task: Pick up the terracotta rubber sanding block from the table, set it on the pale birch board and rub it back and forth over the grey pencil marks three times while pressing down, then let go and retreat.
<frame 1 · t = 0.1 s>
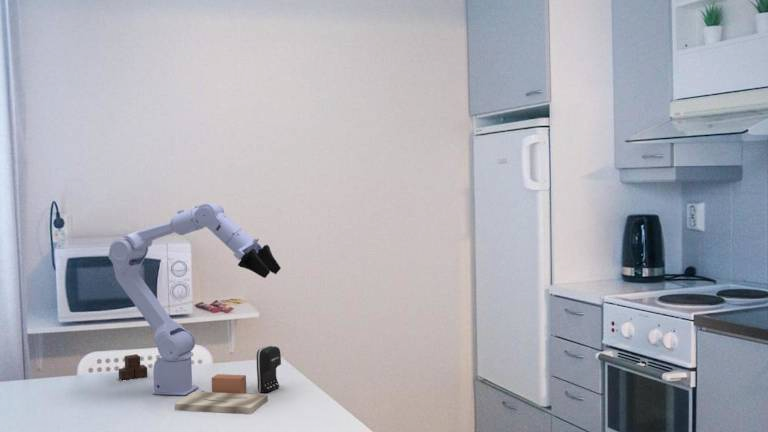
hand: (272, 273, 203), 32 cm above the table, tool tilted 50°, fingers open, 7 cm apart
sanding block: (229, 395, 206), on the table
battery charger: (270, 390, 210), on the table
stack of crates: (131, 379, 227), on the table
board: (221, 405, 197), on the table
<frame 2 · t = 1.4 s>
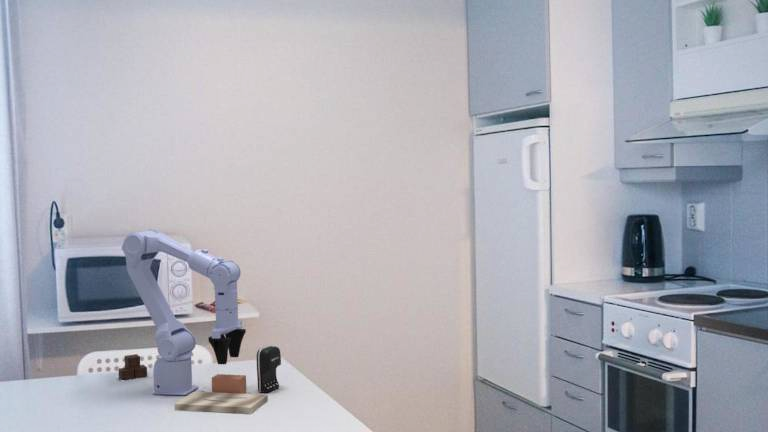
hand: (228, 360, 206), 9 cm above the table, tool pointing down, fingers open, 7 cm apart
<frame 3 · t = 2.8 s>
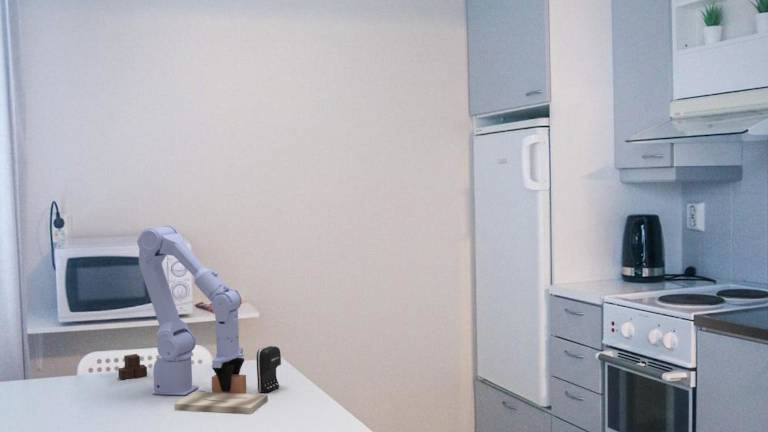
hand: (229, 388, 206), 2 cm above the table, tool pointing down, fingers closed on sanding block, 4 cm apart
sanding block: (229, 394, 206), on the table, touching gripper
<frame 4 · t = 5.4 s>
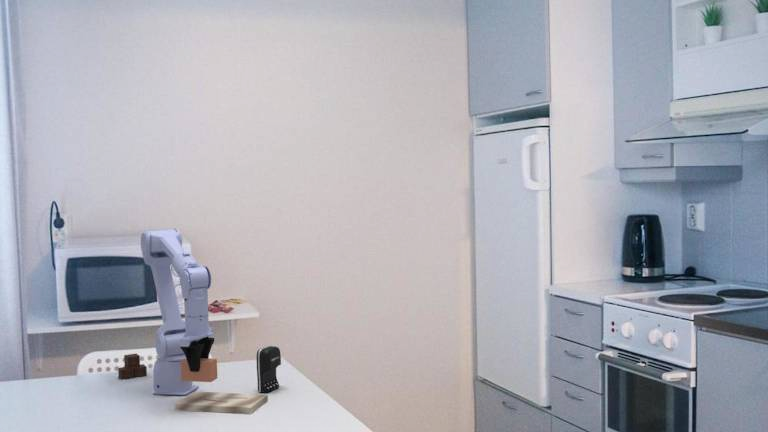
hand: (198, 369, 198), 9 cm above the table, tool pointing down, fingers closed on sanding block, 4 cm apart
sanding block: (199, 379, 198), point 6 cm above the table, touching gripper
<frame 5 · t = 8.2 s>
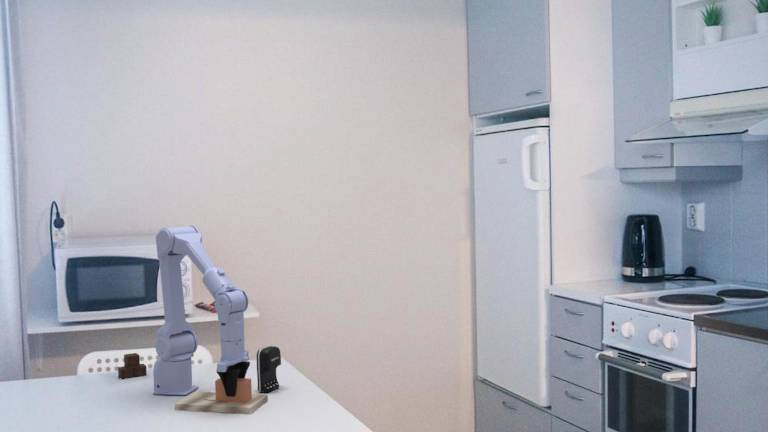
hand: (234, 393, 196), 3 cm above the table, tool pointing down, fingers closed on sanding block, 4 cm apart
sanding block: (233, 399, 196), point 2 cm above the table, touching gripper
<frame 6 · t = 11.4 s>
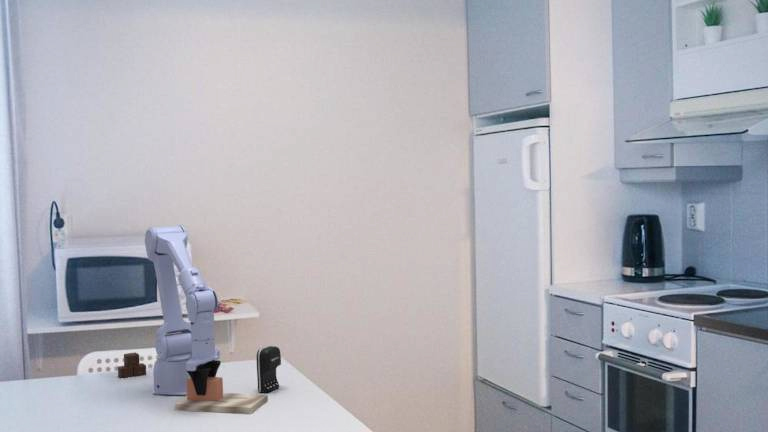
hand: (204, 392, 198), 3 cm above the table, tool pointing down, fingers closed on sanding block, 4 cm apart
sanding block: (205, 398, 198), point 2 cm above the table, touching gripper
when the fingers open (3 cm above the table, at t = 13.6 s): sanding block stays where it is, resting on board.
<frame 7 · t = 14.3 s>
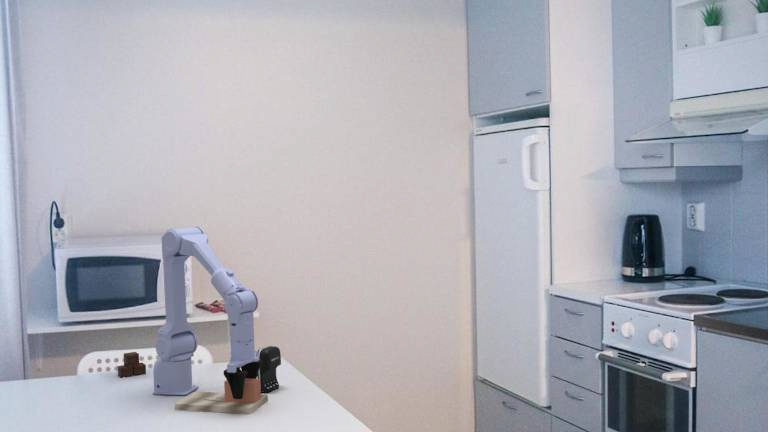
hand: (244, 394, 196), 3 cm above the table, tool pointing down, fingers open, 7 cm apart
sanding block: (243, 400, 196), point 2 cm above the table, touching board
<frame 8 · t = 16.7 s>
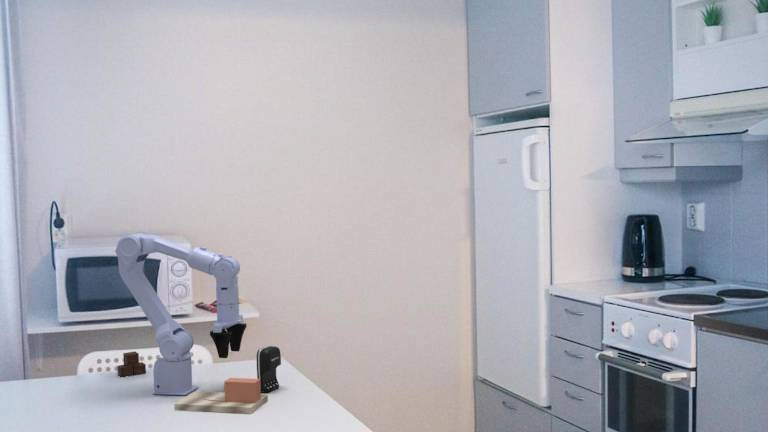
hand: (229, 354, 209), 10 cm above the table, tool pointing down, fingers open, 7 cm apart
at the end: sanding block inside the target area on the board (5.6 cm from its centre), point 1.5 cm above the board's base; sanding block moved 11.9 cm from its start; the gripper is holding nothing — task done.
